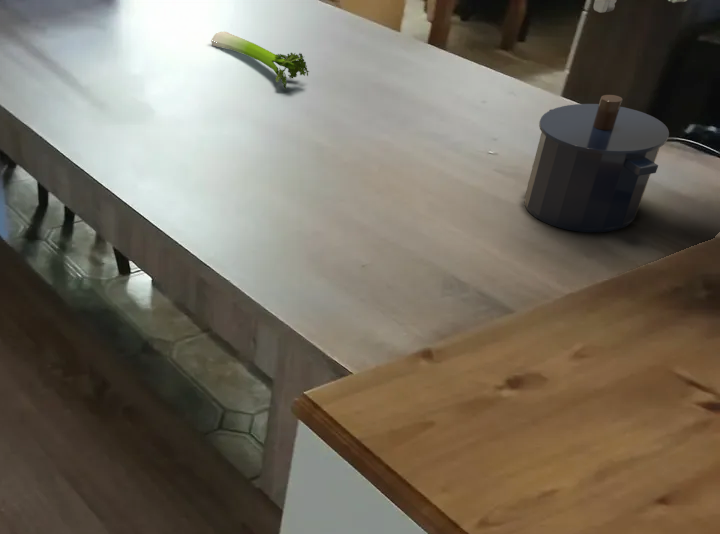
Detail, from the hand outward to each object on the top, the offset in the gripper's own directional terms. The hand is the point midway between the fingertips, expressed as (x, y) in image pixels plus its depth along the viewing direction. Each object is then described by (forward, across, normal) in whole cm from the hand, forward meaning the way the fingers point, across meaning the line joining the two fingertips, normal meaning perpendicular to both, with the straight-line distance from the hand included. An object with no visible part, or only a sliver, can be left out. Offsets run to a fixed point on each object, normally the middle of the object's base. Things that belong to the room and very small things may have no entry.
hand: (639, 6), depth 106 cm
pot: (+25, 0, 0) cm, 25 cm away
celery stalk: (+25, -22, +65) cm, 73 cm away
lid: (+15, 0, 0) cm, 15 cm away
